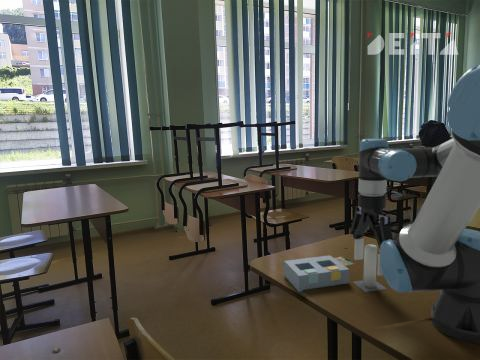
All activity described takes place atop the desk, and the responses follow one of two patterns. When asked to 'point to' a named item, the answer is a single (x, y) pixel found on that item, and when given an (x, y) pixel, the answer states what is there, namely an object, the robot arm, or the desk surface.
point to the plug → (370, 265)
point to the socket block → (315, 272)
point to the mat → (367, 289)
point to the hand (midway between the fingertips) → (369, 266)
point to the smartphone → (344, 261)
